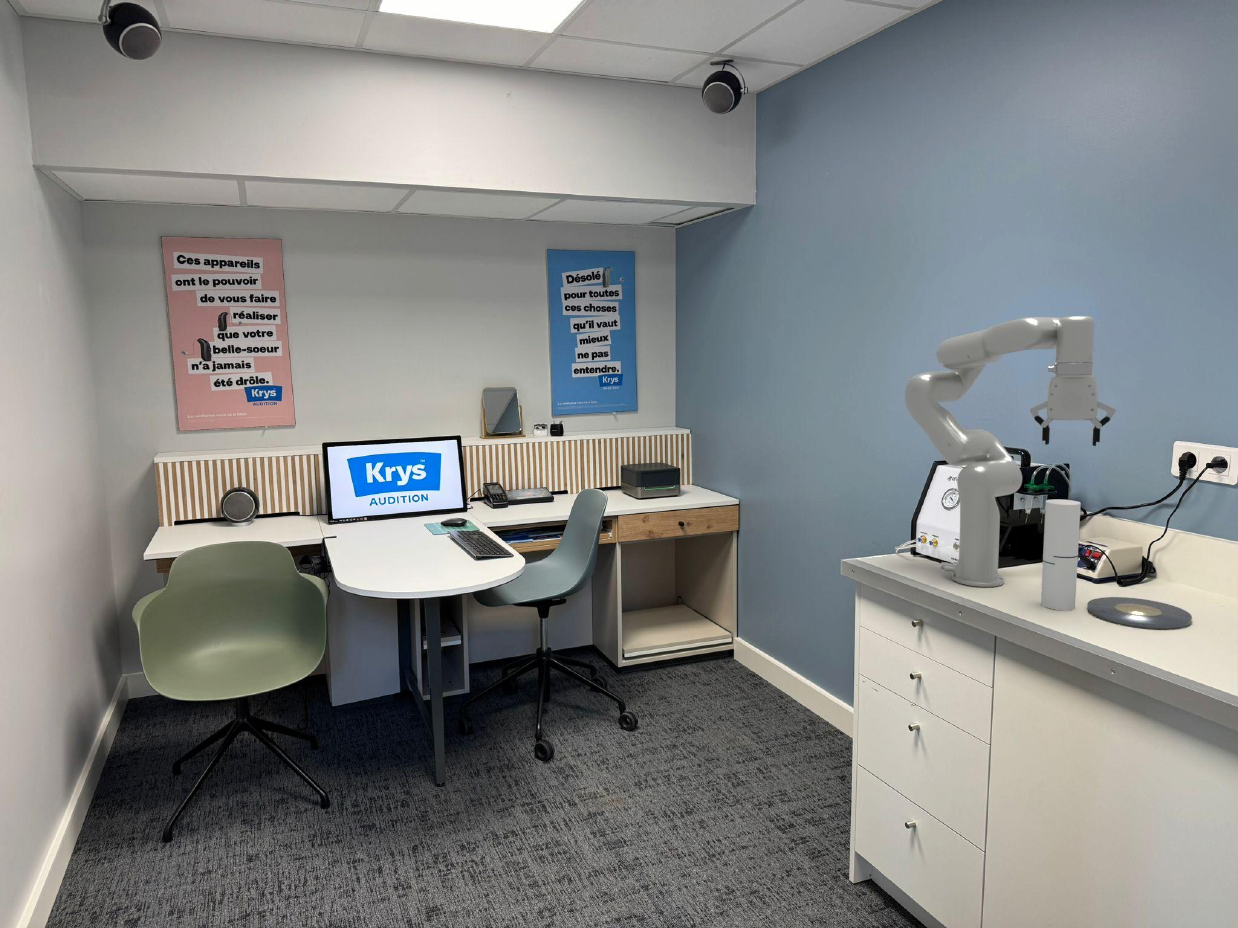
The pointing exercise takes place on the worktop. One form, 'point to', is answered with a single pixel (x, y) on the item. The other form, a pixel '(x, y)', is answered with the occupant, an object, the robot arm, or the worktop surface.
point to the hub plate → (1139, 613)
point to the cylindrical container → (1060, 554)
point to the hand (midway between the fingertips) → (1070, 444)
